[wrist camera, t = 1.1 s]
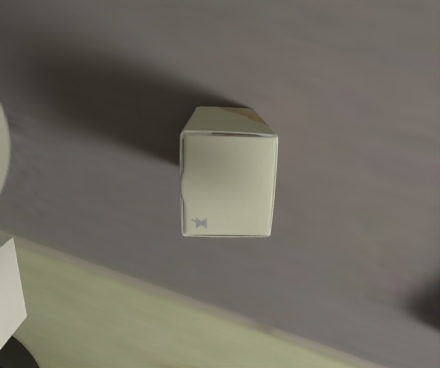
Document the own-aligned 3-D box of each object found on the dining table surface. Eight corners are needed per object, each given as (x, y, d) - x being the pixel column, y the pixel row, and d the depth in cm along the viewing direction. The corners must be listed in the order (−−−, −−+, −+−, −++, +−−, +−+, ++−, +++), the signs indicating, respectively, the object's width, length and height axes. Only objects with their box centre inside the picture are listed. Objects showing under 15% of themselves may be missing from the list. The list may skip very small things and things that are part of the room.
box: (250, 174, 27) (271, 245, 17) (193, 172, 27) (178, 242, 17) (254, 104, 25) (281, 133, 15) (194, 102, 25) (178, 130, 15)
